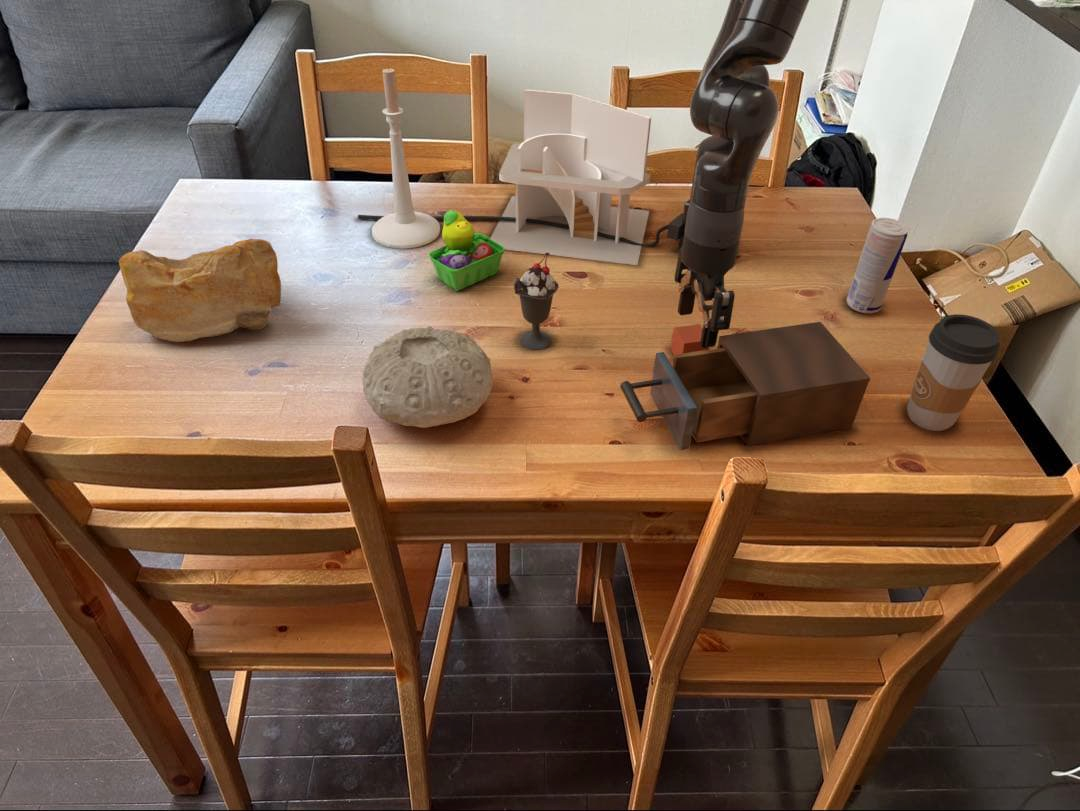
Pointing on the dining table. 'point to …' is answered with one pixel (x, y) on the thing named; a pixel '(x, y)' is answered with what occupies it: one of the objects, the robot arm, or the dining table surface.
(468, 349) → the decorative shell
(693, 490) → the dining table surface
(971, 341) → the coffee cup
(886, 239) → the beverage can
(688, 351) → the block
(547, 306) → the sundae
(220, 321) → the rough brown rock
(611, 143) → the architectural model
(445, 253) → the fruit basket
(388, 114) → the candlestick
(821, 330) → the cabinet
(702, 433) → the drawer
